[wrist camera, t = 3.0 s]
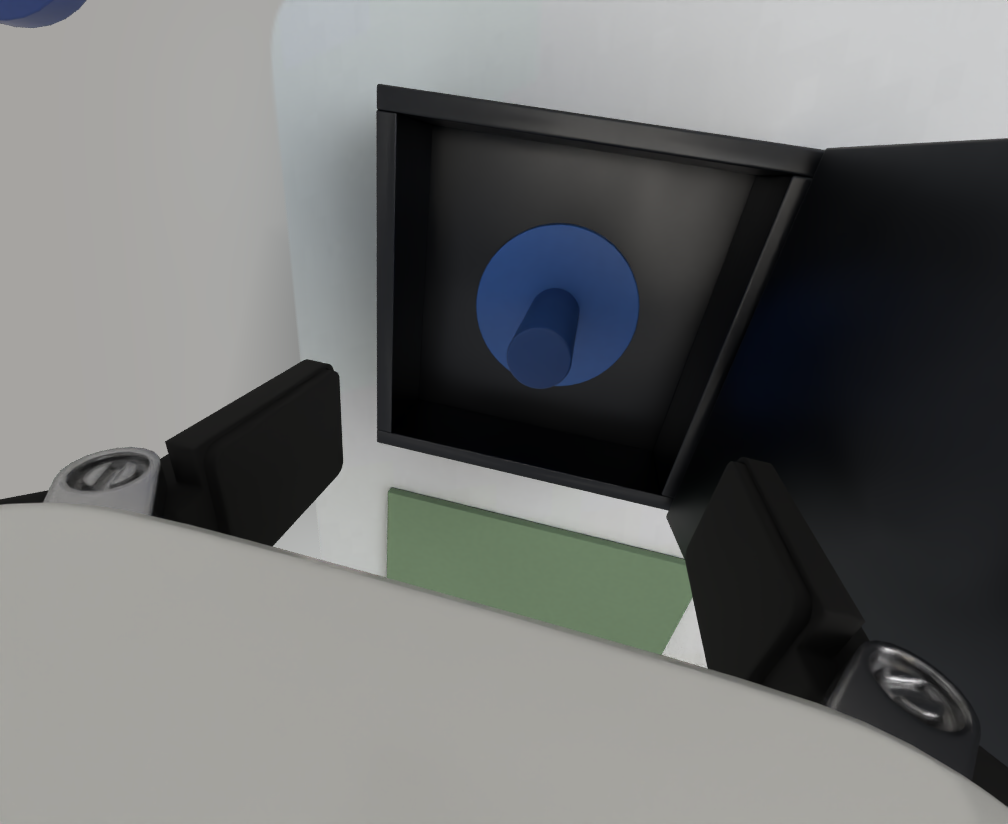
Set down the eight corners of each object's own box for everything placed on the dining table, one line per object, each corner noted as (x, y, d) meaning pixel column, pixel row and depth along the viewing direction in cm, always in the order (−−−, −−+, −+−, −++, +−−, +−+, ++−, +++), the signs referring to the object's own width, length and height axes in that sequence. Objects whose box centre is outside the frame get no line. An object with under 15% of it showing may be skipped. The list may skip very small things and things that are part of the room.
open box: (410, 402, 27) (376, 442, 23) (423, 103, 20) (375, 82, 16) (660, 458, 26) (671, 511, 22) (778, 156, 18) (830, 150, 14)
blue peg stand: (471, 364, 25) (427, 428, 18) (489, 209, 21) (440, 222, 14) (613, 394, 24) (618, 472, 17) (660, 239, 20) (688, 267, 14)
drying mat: (387, 664, 42) (385, 671, 41) (391, 486, 31) (387, 492, 31) (616, 731, 40) (616, 738, 39) (705, 564, 29) (707, 570, 28)
